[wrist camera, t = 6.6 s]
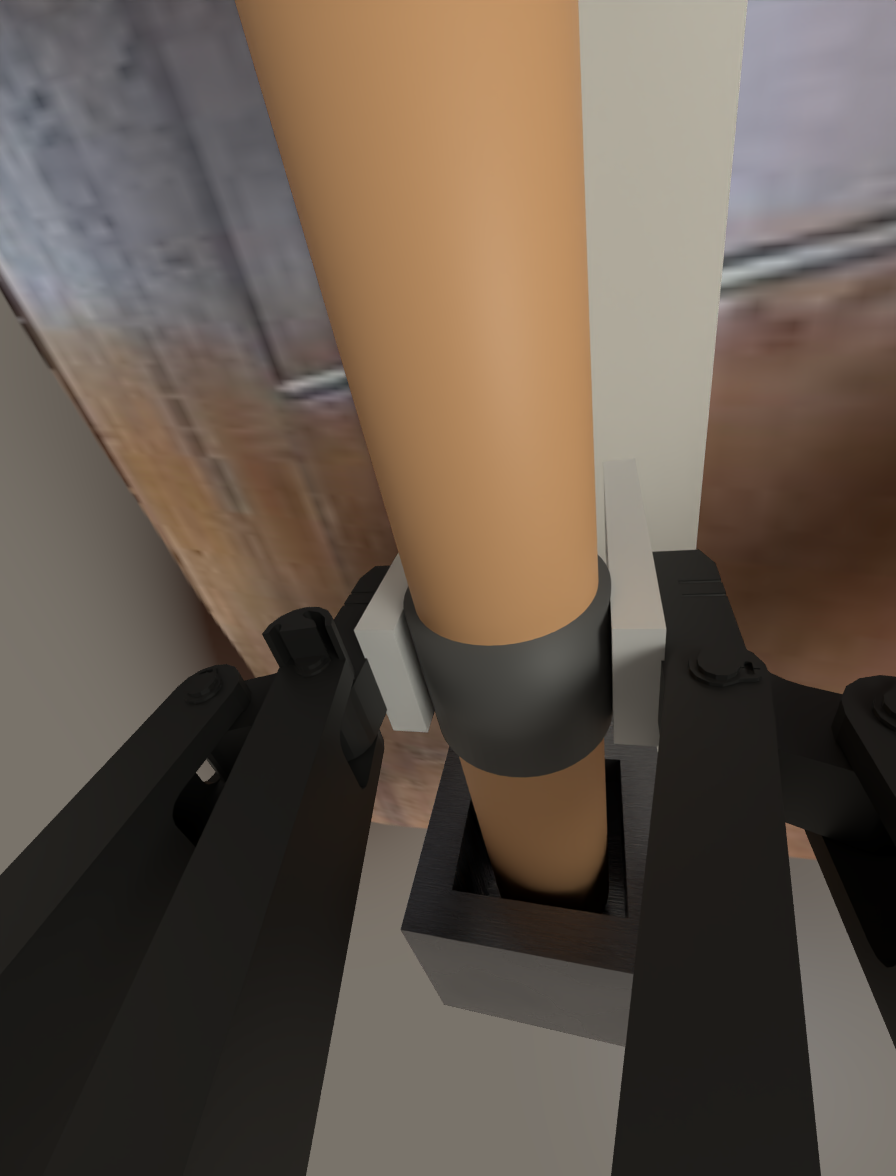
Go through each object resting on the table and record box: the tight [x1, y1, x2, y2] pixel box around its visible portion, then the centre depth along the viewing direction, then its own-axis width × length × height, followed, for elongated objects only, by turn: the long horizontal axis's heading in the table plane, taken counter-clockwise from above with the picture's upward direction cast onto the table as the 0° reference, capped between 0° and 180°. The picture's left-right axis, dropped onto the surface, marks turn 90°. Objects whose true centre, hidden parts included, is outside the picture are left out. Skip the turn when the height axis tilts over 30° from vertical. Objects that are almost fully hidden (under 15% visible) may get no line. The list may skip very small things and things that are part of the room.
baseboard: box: [578, 0, 748, 751], centre depth 13 cm, size 37×9×2 cm, turn 12°
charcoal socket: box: [401, 716, 658, 1046], centre depth 16 cm, size 5×6×10 cm
